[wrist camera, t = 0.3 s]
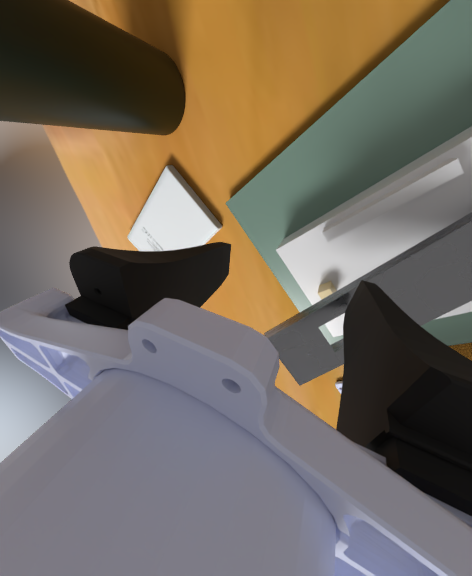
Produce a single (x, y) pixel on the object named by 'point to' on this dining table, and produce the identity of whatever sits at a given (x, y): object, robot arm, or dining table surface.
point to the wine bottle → (83, 72)
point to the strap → (396, 284)
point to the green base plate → (373, 174)
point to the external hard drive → (173, 217)
